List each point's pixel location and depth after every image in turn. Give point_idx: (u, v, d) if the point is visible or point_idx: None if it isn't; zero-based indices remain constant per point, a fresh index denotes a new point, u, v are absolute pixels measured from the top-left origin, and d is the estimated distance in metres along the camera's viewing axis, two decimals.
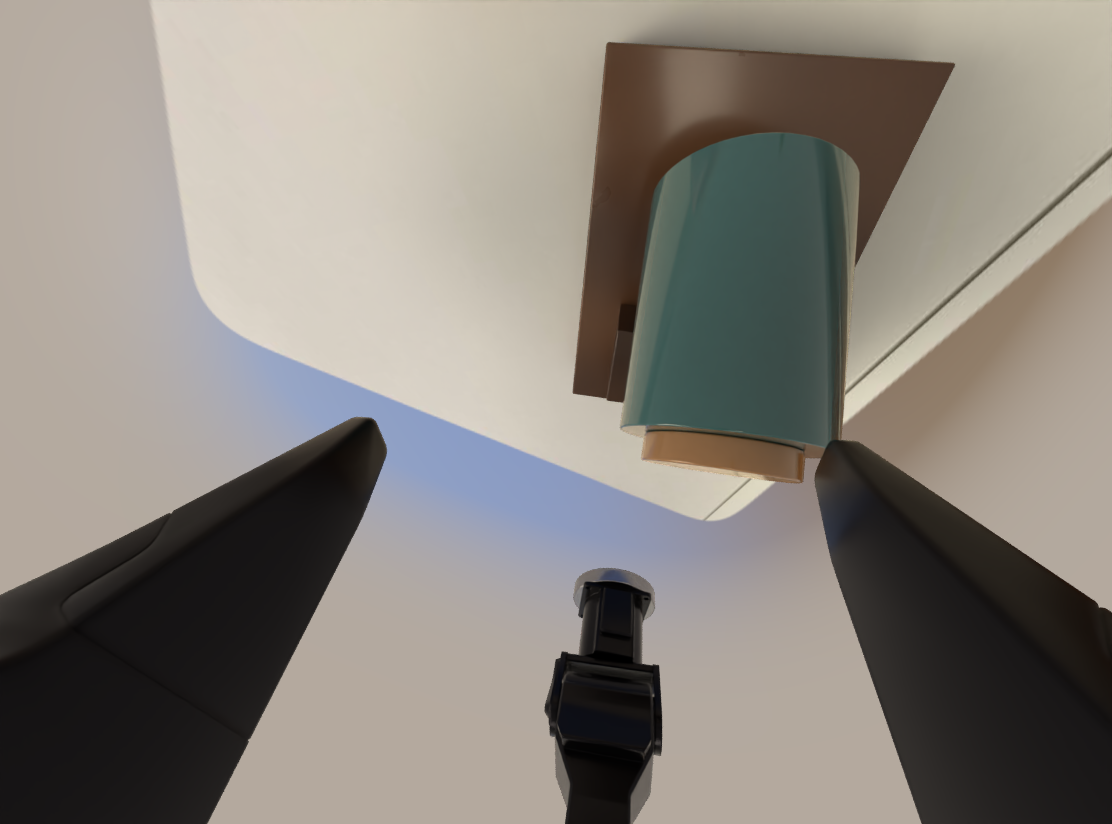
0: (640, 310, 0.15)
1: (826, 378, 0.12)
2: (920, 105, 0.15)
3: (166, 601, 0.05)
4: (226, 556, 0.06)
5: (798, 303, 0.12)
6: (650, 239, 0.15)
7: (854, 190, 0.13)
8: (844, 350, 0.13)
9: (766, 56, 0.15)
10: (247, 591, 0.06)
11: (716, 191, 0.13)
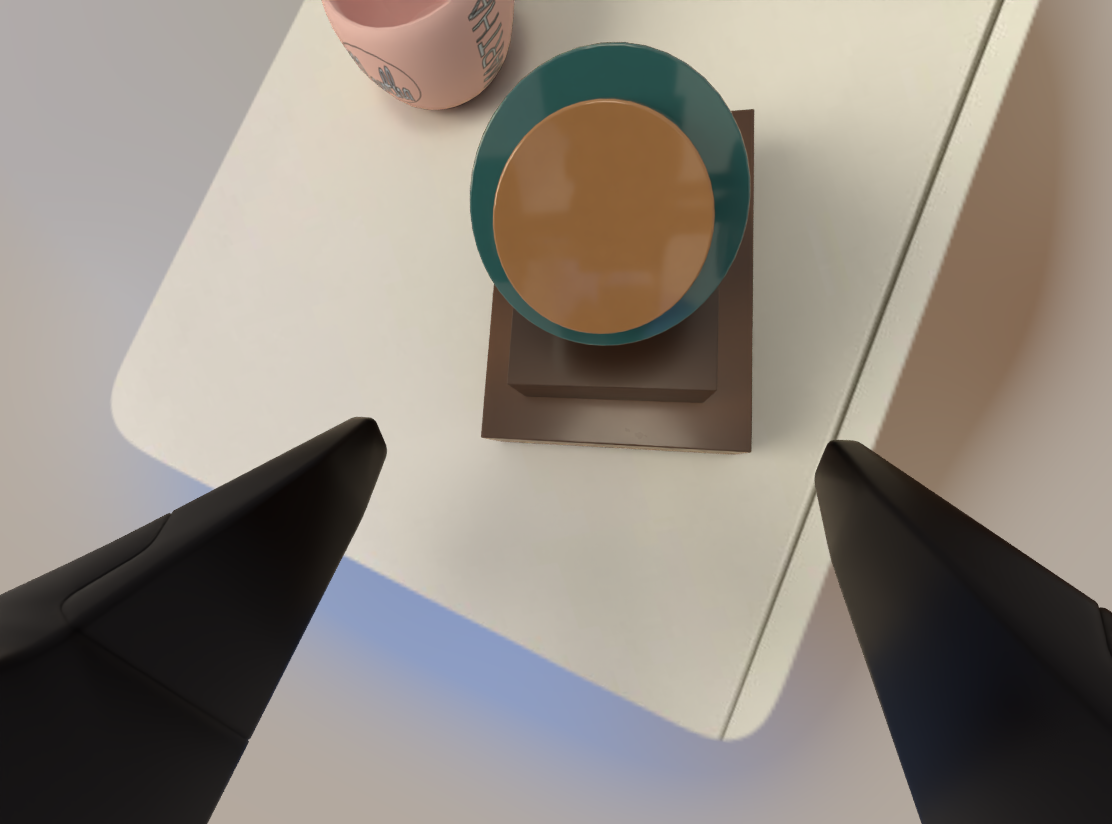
0: None
1: None
2: (742, 132, 0.20)
3: (166, 601, 0.05)
4: (226, 556, 0.06)
5: None
6: None
7: None
8: None
9: None
10: (247, 591, 0.06)
11: None
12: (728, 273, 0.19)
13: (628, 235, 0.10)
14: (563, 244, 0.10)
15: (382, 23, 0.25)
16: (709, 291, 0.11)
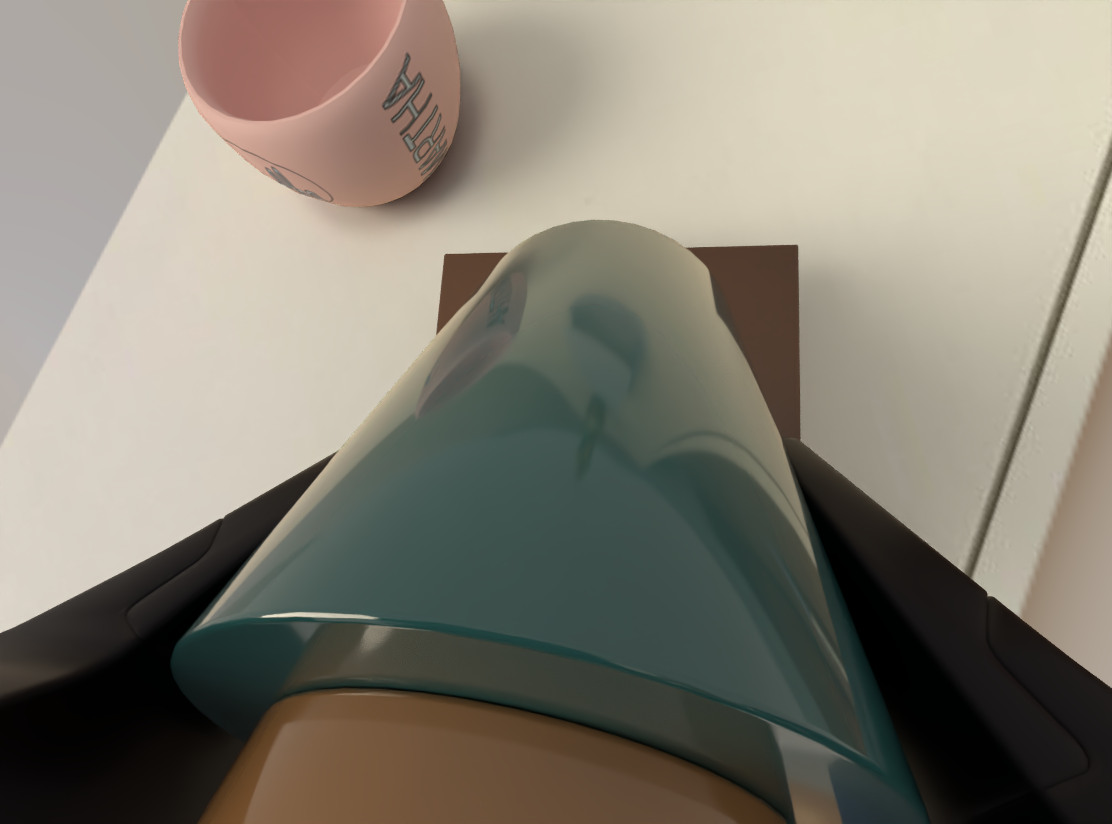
0: None
1: (725, 465, 0.04)
2: (781, 279, 0.13)
3: None
4: None
5: (610, 325, 0.05)
6: None
7: (707, 276, 0.09)
8: (772, 444, 0.05)
9: None
10: None
11: (497, 269, 0.09)
12: None
13: None
14: None
15: (290, 93, 0.19)
16: None
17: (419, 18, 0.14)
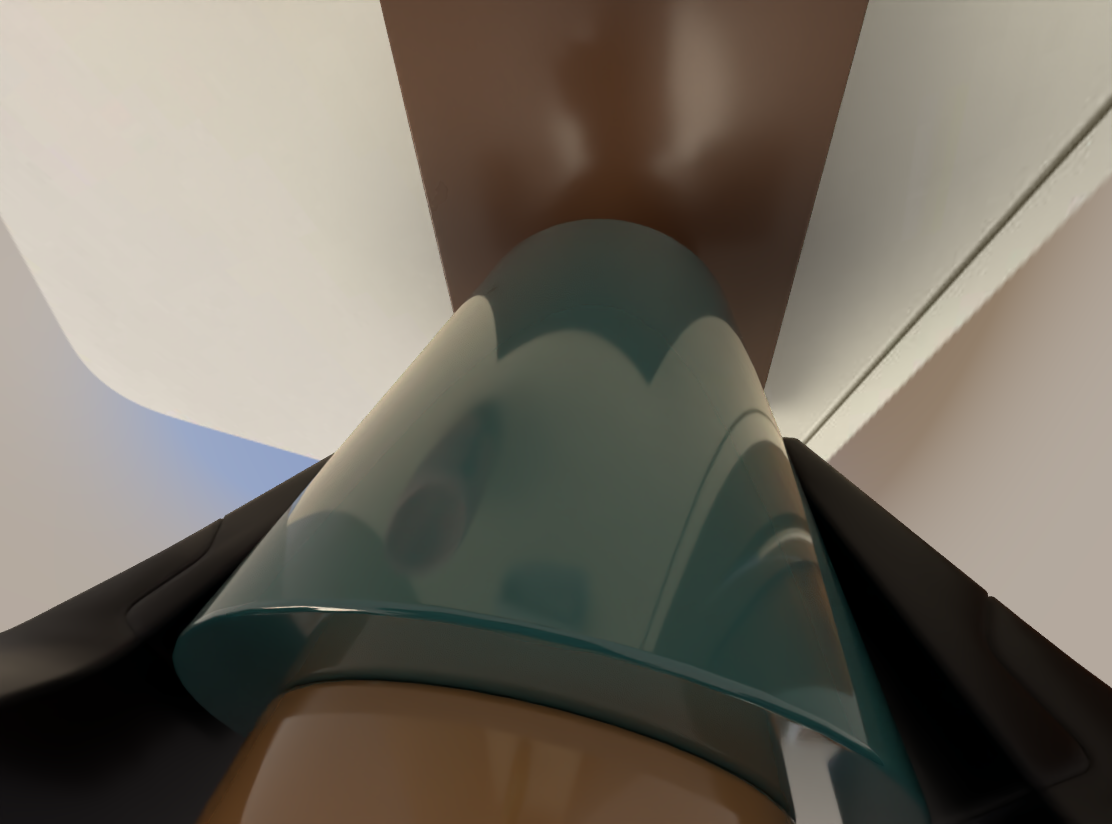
0: None
1: (725, 459, 0.04)
2: None
3: None
4: None
5: (611, 322, 0.05)
6: None
7: (707, 274, 0.09)
8: (772, 440, 0.05)
9: None
10: None
11: (497, 267, 0.09)
12: (760, 278, 0.14)
13: None
14: None
15: None
16: None
17: None
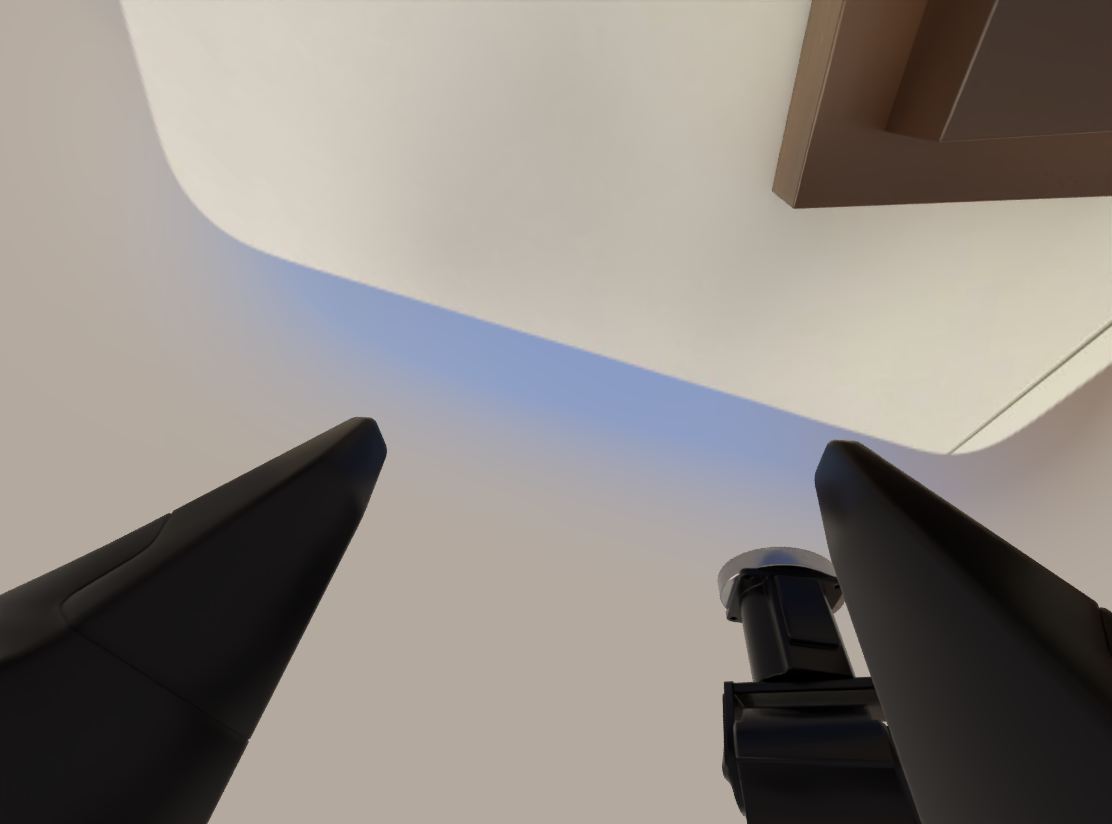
0: None
1: None
2: None
3: (166, 601, 0.05)
4: (226, 556, 0.06)
5: None
6: None
7: None
8: None
9: None
10: (247, 591, 0.06)
11: None
12: None
13: None
14: None
15: None
16: None
17: None
